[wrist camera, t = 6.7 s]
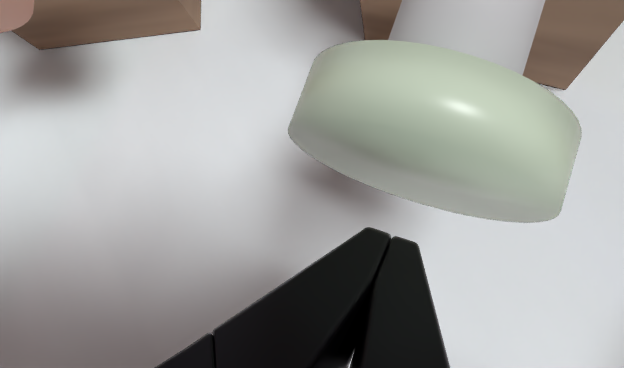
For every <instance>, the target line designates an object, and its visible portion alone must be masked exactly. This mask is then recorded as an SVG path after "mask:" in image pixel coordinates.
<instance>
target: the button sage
mask: <svg viewBox="0 0 624 368" xmlns="http://www.w3.org/2000/svg"><path fill="white" fill-rule="evenodd" d="M544 3H545V0H402V2H401V5H400V8H399V11H398V13H397V16H396V19H395V22H394V25H393V28H392V30H391V33H390V36H389V39H388V40H363V41H354V42H347V43H343V44H339V45H336V46H333V47H331V48H328V49H326V50H325V51H323V52H322V53H320V54H319V55H318V56H317V57H316V58H315V59H314V62H313V64H312V67H311V69H310V72H309V75H308V77H307V80H306V83H305V85H304V88H303V90H302V93H301V96H300V98H299V101H298V104H297V106H296V109H295V112H294V114H293V117H292V120H291V122H290V125H289V127H288V134H289V136H290V138H291V139H292V140H293V142H294V143H295V144H296V145H297V146H298V147H299V148H301V149H302V150H303V151H304V152H306V153H307V154H308V155H310V156H311V157H313V158H314V159H316V160H317V161H319V162H321V163H323V164H324V165H326V166H328V167H330V168H332V169H334V170H335V171H337V172H339V173H342V174H344V175H346V176H348V177H350V178H352V179H354V180H357V181H359V182H361V183H364V184H366V185H369V186H371V187H374V188H376V189H379V190H381V191H384V192H387V193H390V194H392V195H395V196H398V197H401V198H404V199H407V200H410V201H414V202H417V203H420V204H423V205H427V206H431V207H434V208H438V209H442V210H446V211H450V212H454V213H458V214H463V215H468V216H473V217H478V218H484V219H490V220H497V221H506V222H521V223H532V222H543V221H548V220H551V219H554V218H555V217H557V216H558V215H559V213H560V211H561V208H562V205H563V201H564V198H565V194H566V190H567V187H568V183H569V180H570V176H571V172H572V169H573V165H574V162H575V158H576V155H577V151H578V147H579V144H580V140H581V127H580V124H579V121H578V119H577V118H576V116H575V115H574V113H573V112H572V111H571V110H570V108H569V107H568V106H567V105H566V104H565V103H564V102H563V101H561V100H560V99H559V98H558V97H556V96H555V95H554V94H553V93H551V92H550V91H548V90H547V89H545V88H544V87H542V86H540V85H539V84H537V83H536V82H534V81H532V80H530V79H528V78H526V77H524V76H522V75H523V72H524V69H525V65H526V62H527V59H528V56H529V52H530V49H531V46H532V42H533V39H534V36H535V33H536V29H537V26H538V23H539V20H540V16H541V13H542V10H543V6H544Z"/></svg>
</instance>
